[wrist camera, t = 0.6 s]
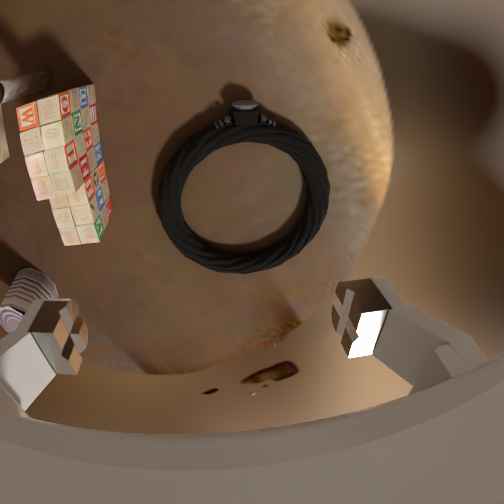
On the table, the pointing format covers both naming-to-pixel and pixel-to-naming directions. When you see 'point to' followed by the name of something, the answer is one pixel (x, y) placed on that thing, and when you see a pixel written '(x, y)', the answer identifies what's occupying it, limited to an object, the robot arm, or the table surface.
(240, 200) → the table surface
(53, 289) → the can
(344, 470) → the robot arm
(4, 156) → the light wooden square frame
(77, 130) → the stack of blocks
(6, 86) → the silver metal rod
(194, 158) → the cable lock
